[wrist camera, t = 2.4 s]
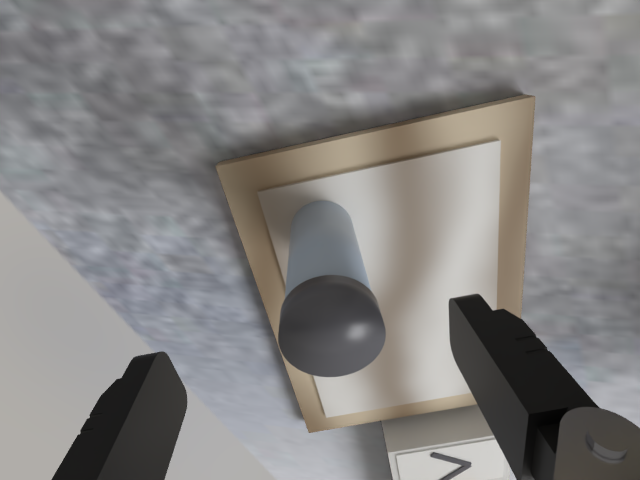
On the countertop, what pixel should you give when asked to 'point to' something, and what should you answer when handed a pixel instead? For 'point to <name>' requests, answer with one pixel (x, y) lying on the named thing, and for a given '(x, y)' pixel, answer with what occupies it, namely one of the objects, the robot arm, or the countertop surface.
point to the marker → (328, 297)
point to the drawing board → (399, 242)
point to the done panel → (444, 446)
